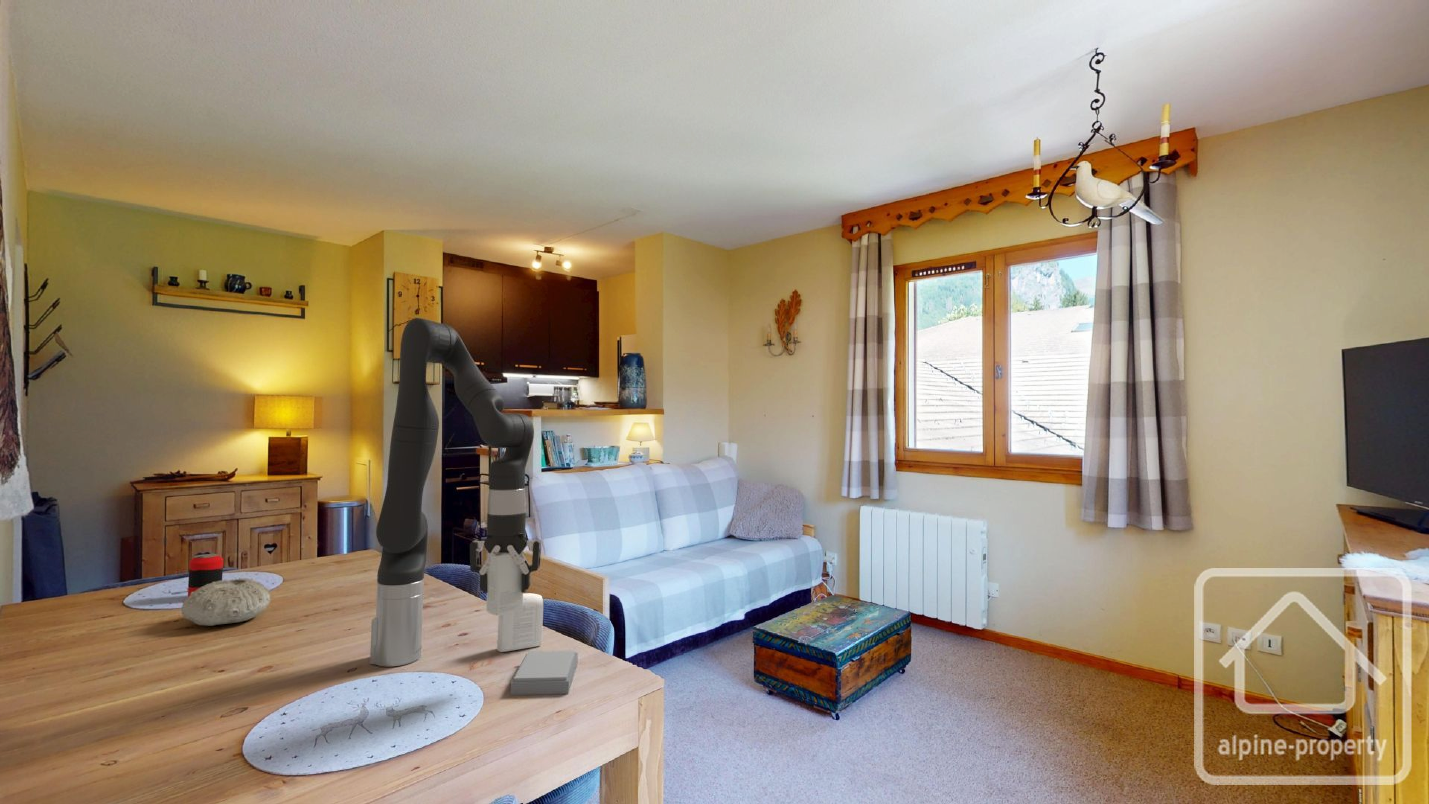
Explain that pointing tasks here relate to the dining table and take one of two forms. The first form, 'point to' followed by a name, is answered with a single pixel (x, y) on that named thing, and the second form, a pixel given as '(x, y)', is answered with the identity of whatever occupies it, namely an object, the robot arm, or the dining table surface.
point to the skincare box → (504, 584)
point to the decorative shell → (226, 602)
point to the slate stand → (545, 673)
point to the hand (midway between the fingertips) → (505, 591)
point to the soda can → (204, 571)
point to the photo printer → (521, 625)
